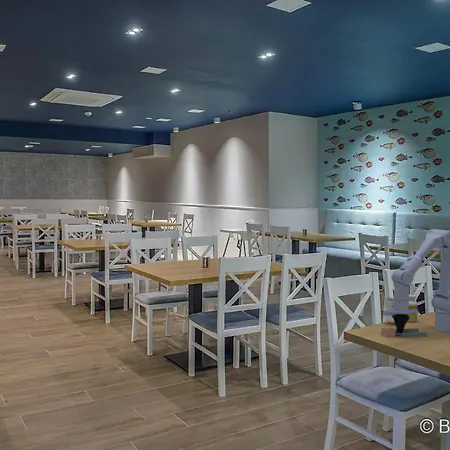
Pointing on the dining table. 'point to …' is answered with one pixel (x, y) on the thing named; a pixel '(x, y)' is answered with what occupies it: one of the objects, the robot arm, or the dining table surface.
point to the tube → (409, 333)
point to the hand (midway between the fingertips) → (399, 332)
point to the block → (388, 331)
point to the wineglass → (389, 305)
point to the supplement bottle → (412, 305)
